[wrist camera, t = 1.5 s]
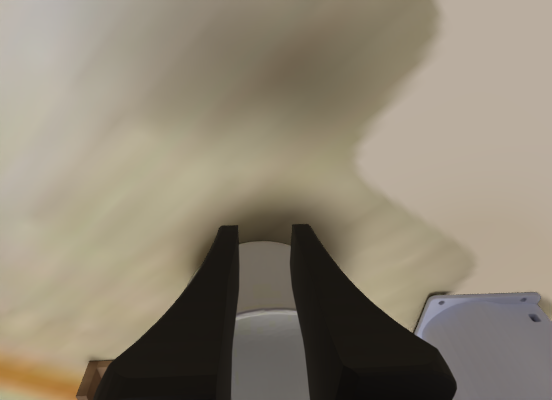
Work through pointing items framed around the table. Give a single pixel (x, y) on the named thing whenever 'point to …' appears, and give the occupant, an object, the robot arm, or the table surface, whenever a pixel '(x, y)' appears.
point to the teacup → (267, 328)
